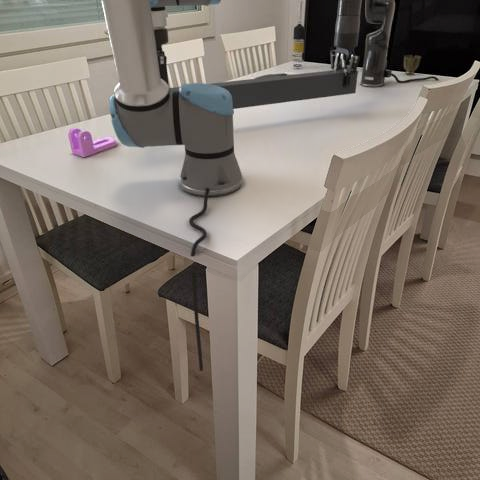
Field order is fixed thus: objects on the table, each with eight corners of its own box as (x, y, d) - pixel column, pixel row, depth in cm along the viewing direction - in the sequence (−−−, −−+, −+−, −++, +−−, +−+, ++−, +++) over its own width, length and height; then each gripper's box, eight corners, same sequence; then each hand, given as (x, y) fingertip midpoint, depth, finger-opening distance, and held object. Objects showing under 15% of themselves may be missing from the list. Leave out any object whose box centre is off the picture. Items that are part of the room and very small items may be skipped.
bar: (149, 119, 130) (146, 94, 126) (146, 115, 134) (143, 90, 130) (355, 93, 153) (358, 71, 149) (347, 90, 157) (349, 68, 153)
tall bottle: (304, 68, 225) (308, 1, 209) (295, 69, 223) (298, 2, 207) (299, 66, 229) (303, 0, 213) (289, 67, 227) (292, 1, 211)
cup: (399, 75, 209) (402, 56, 205) (402, 71, 214) (405, 54, 210) (416, 76, 206) (419, 57, 202) (418, 73, 211) (422, 55, 207)
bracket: (84, 157, 126) (79, 133, 123) (72, 153, 129) (66, 129, 126) (119, 144, 135) (116, 121, 131) (108, 140, 138) (104, 118, 134)
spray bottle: (250, 85, 197) (282, 75, 213) (270, 88, 191) (301, 78, 207) (250, 78, 195) (282, 69, 211) (271, 81, 189) (302, 72, 206)
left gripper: (175, 30, 115) (183, 120, 127) (159, 23, 129) (167, 104, 141) (146, 32, 113) (157, 123, 125) (133, 25, 127) (143, 107, 139)
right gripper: (370, 32, 139) (363, 88, 148) (344, 27, 150) (339, 79, 159) (349, 34, 136) (343, 91, 145) (325, 28, 148) (320, 82, 157)
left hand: (162, 113), depth 133 cm, fingers closed on bar, 5 cm apart
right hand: (341, 85), depth 152 cm, fingers closed on bar, 5 cm apart
